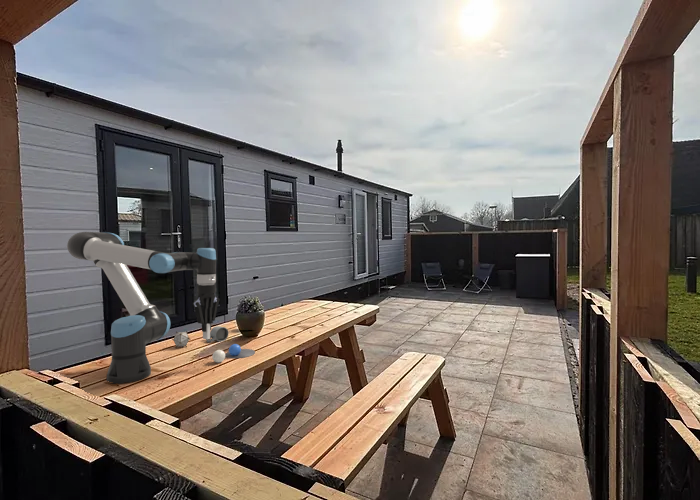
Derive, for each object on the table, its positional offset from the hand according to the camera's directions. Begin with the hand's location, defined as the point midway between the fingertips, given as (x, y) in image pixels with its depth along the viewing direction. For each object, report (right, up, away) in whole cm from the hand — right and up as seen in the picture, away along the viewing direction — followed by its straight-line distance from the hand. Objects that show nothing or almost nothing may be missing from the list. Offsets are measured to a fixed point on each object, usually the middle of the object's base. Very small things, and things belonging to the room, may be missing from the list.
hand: (206, 338), depth 154 cm
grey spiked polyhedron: (-25, -12, +30) cm, 40 cm away
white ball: (+3, -9, +6) cm, 11 cm away
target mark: (+9, -12, +18) cm, 23 cm away
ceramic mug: (-11, -12, +41) cm, 44 cm away
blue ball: (+7, -9, +15) cm, 19 cm away
